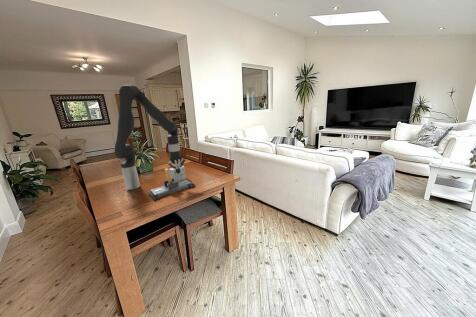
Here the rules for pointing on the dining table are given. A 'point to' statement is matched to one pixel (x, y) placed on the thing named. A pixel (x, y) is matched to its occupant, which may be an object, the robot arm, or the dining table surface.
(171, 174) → the light bulb box
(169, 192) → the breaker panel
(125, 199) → the dining table surface
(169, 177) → the breaker lever
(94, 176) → the dining table surface
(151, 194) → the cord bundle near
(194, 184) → the cord bundle far
